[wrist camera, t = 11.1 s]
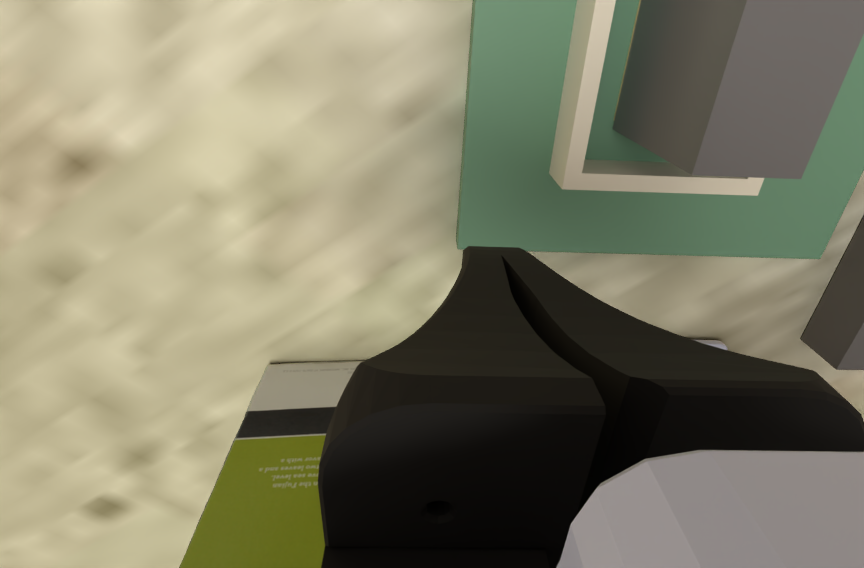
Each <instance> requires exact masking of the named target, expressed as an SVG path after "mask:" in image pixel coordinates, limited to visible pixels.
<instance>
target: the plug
mask: <svg viewBox="0 0 864 568" xmlns="http://www.w3.org/2000/svg"><path fill="white" fill-rule="evenodd" d="M863 34H864V0H641V3H640V7H639V12H638V16H637V21H636V25H635V30H634V34H633V39H632V43H631V48H630V52H629V57H628V61H627V66H626V70H625V75H624V79H623V84H622V88H621V93H620V97H619V102H618V106H617V111H616V116H615V120H614V125H613V130H615V131H616V132H618V133H620V134H622V135H623V136H625V137H627V138H628V139H630V140H632V141H634V142H635V143H637V144H639V145H641V146H642V147H644V148H646V149H647V150H649V151H651V152H653V153H654V154H656V155H658V156H659V157H661V158H663V159H665V160H666V161H668V162H670V163H672V164H673V165H675V166H677V167H678V168H680V169H682V170H684V171H685V172H687V173H689V174H690V175H698V176H725V177H752V178H779V179H801V178H802V176H803V173H804V171H805V169H806V167H807V164H808V162H809V160H810V157H811V155H812V153H813V150H814V148H815V146H816V143H817V141H818V139H819V136H820V134H821V132H822V129H823V127H824V125H825V122H826V120H827V118H828V116H829V113H830V111H831V109H832V106H833V104H834V102H835V99H836V97H837V95H838V92H839V90H840V88H841V85H842V83H843V81H844V78H845V76H846V74H847V71H848V69H849V67H850V65H851V62H852V60H853V58H854V55H855V53H856V51H857V48H858V46H859V44H860V41H861V39H862V37H863Z"/></svg>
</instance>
